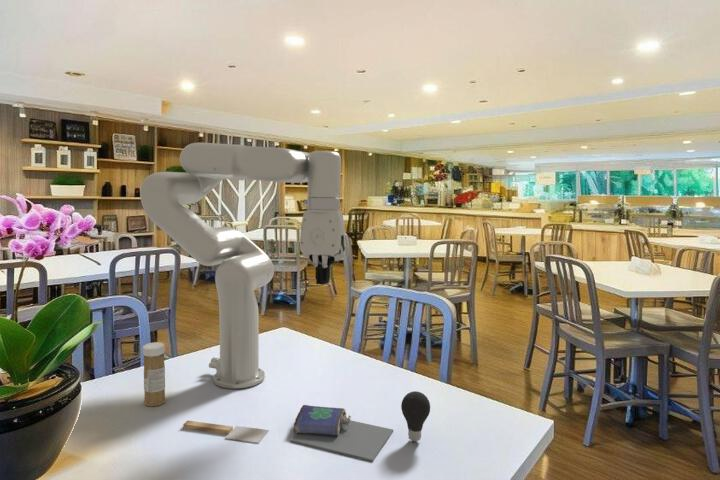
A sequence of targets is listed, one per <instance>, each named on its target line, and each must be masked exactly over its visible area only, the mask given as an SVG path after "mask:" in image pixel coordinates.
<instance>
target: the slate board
mask: <svg viewBox="0 0 720 480" xmlns="http://www.w3.org/2000/svg"><path fill="white" fill-rule="evenodd" d="M349 424H350V426H347V424H345V425H344V424H342V425H341V428H340V431H339V435H338V436H334V435H323V434H309V433H295V435H294V436H293V437H292V438H290V443H295V444H300V445H304V446H307V447H311V448H314V449H319V450H323V451H327V452H332V453H336V454H339V455H344V456H348V457H351V458H354V459H355V458H356V459H360V460H364V461H368V462H371V463H372V462H374V461H375V460H376V458H377V456H378V455H379V453H380V451H382V449H383V448H384V446H385V444H386V443H387V441H388V440H389V439H390V437H391V436H392V434H393V432H394V429H392V428H388V427H384V426H383V427H382V426H379V425H373V424H369V423H366V422H365V423H364V422H360V421H355V420H352V419H350V422H349Z"/></svg>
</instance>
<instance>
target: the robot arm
mask: <svg viewBox="0 0 720 480" xmlns="http://www.w3.org/2000/svg"><path fill="white" fill-rule="evenodd" d="M179 163H180V165H181V167H182V169H183V170H184V171H185V172H182V171H181V172H178V171H158V172H155V173H151V174H149V175H147V176H146V177H145V178H144V179H143V181H142V183H141V185H140V191H139V192H140V194H139V195H140V196H139V197H140V202H141V206H142V208H143V210H144V213H145V214H146V216H147V217H148V218H149V219H150V221H151V222H152V223H154V225H156V227H158V228H159V229H161V230H162V231H163V232H164V233H165V234H166V235H168V236H169V237H170V238H171V239H172V240H173V241H175V243H176V244H177V245H178V246H179V247H181V248H182V249H183V251H185V252H186V253H187V254H189V256H191V257H192V258H193V259H194V260H195V261H196V262H198V263H199V264H201V266H205V267H211V266H218V267H217V268H216V271H215V274H214V276H215V277H214V279H215V280H214V281H215V287H216V292H217V298H218V314H219V317H218V318H219V357H215V356H213V357H212V358H211V359H210V362H209V364H208V367H209V368H210V369H215V370H216V372H215V374H214V375H213V383H214V385H215V386H216V385H217V386H218V387H220V388H224V389H229V390H231V389H232V390H233V389H235V390H237V389H246V388H251V387H255V386H256V385H259V384H260V383H262V382H263V381H264V380H265V377H266V376H265V371H264V370H263V369H262V368H260V367H259V366H260V365H259V363H260V362H259V360H260V359H259V348H260V347H259V344H260V343H259V341H260V340H259V339H260V338H259V337H260V336H259V335H260V334H259V330H260V328H259V326H260V325H259V304H258V301H257V297H256V294H255V290H257V289H259V288H261V287H264V286H266V285H267V284H269V283H270V282H272V280H273V277H274V273H275V268H274V267H275V266H274V264H273V261H272V259H271V258H270V256H269V255H268V254H267V253H265V251H264V250H262V249H261V248H260V247H259V246H258V245H257V244H255V243H254V242H253V241H252V240H251V239H250V238H249V237H247V236H246V235H245V234H244V233H243V232H241V231H240V230H238V229H236V228H234V227H232V226H231V227H230V226H218V227H216V226H211V225H209V224H208V223H207V222H206V221H204V220H203V219H202V218H201V217H200V216H199V215H197V213H195V212H194V211H192V210H191V209H188V208H186V207H185V206H183V205H192V204H195V203H198V202H200V201H202V200H203V198H205V197H206V196H207V195H208V194H209V193H210V192H211V191H212V190H214V188H215V187H217V186H218V185H219V184H220V183H221V182H222V181H223V180H230V181H231V180H233V181H234V180H235V181H244V180H252V181H264V182H275V183H290V184H291V183H292V184H293V183H294V184H296V183H297V184H301V183H307V197H306V199H304V200H303V203H302V204H303V205H304V206H306V208H307V210H303V214H302V220H301V225H300V231H299V232H300V233H299V235H300V236H299V250H300V252H302V253H301V255H302V256H303V258H306V259H309V260H310V261H311V263H312V265H313V267H315V282H316V283H315V284H316V285H322V286H323V285H326V284H329V282H330V279H331V267H332V266H333V265H334V263H335V262H340V261H343V260H345V254H344V253H345V250H346V229H345V227H346V226H345V219H344V215H343V211H341V181H342V180H341V175H342V174H341V173H342V158H341V155H340V153H339V152H336V151H332V150H313V151H311V152H308V151H307V152H306V151H301V150H296V149H290V148H285V147H283V148H282V147H268V146H254V145H253V146H249V145H245V144H231V143H230V144H228V143H215V142H214V143H213V142H211V143H210V142H192V143H189V144H187V145H186V146H185V147H184V148H183V149H182V150H181V152H180V154H179Z"/></svg>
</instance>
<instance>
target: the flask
mask: <svg viewBox="0 0 720 480" xmlns="http://www.w3.org/2000/svg"><path fill="white" fill-rule="evenodd" d="M351 418H352V416H351V415H348V417H347V411H346V409H345V408H342V407H328V406H327V407H326V406H317V405H316V406H314V405H308V404H303V405H302V406H301V407H300V409H299V412H298V414H297V415H296V417H295V420H294V423H293V432H294V433H295V434H297V433H309V434H323V435H334V436H338V435H339V431H340V428H341V425H342V424H344V425H345V424H347V426H350V424H349V422H350V420H351Z"/></svg>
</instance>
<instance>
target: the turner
mask: <svg viewBox="0 0 720 480" xmlns="http://www.w3.org/2000/svg"><path fill="white" fill-rule="evenodd" d="M182 425H183V430H184V429H185V430H191V431H199V432H205V433H207V432H208V433H212V434H213V433H215V434H221V435H226V436H225V437H224V439H225V440H228V441H235V442H242V443H250V444H255V445H256V444H258V445H259V444H260V443H261V442H262V441H263V439H264V438H265V436H266V435H267V434H268V433H269V429H264V428H257V427H256V428H254V427H247V426H241V425H235V427H233V426H232V425H231V426H230V425H224V424H216V423H210V422H209V423H208V422H201V421H194V420H186V421H185V422H184V423H182Z"/></svg>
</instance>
